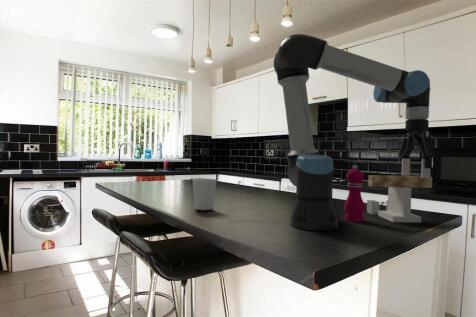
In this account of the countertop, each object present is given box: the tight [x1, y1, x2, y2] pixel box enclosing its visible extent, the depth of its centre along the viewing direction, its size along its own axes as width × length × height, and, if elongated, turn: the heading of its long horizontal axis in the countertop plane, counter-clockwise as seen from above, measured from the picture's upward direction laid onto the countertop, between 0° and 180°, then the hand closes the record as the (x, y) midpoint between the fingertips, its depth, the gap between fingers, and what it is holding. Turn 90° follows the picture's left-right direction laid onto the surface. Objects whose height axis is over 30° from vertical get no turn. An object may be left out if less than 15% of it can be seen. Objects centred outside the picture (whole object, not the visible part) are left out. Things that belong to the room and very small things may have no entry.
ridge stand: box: [377, 187, 422, 223], centre depth 120 cm, size 10×12×12 cm
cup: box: [192, 177, 217, 212], centre depth 131 cm, size 10×10×13 cm
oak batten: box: [367, 174, 433, 189], centre depth 119 cm, size 22×4×4 cm, turn 90°
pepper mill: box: [343, 164, 366, 223], centre depth 116 cm, size 7×7×20 cm
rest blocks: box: [366, 199, 388, 215], centre depth 131 cm, size 11×5×5 cm, turn 90°
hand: (414, 176), depth 119 cm, fingers open, 13 cm apart
